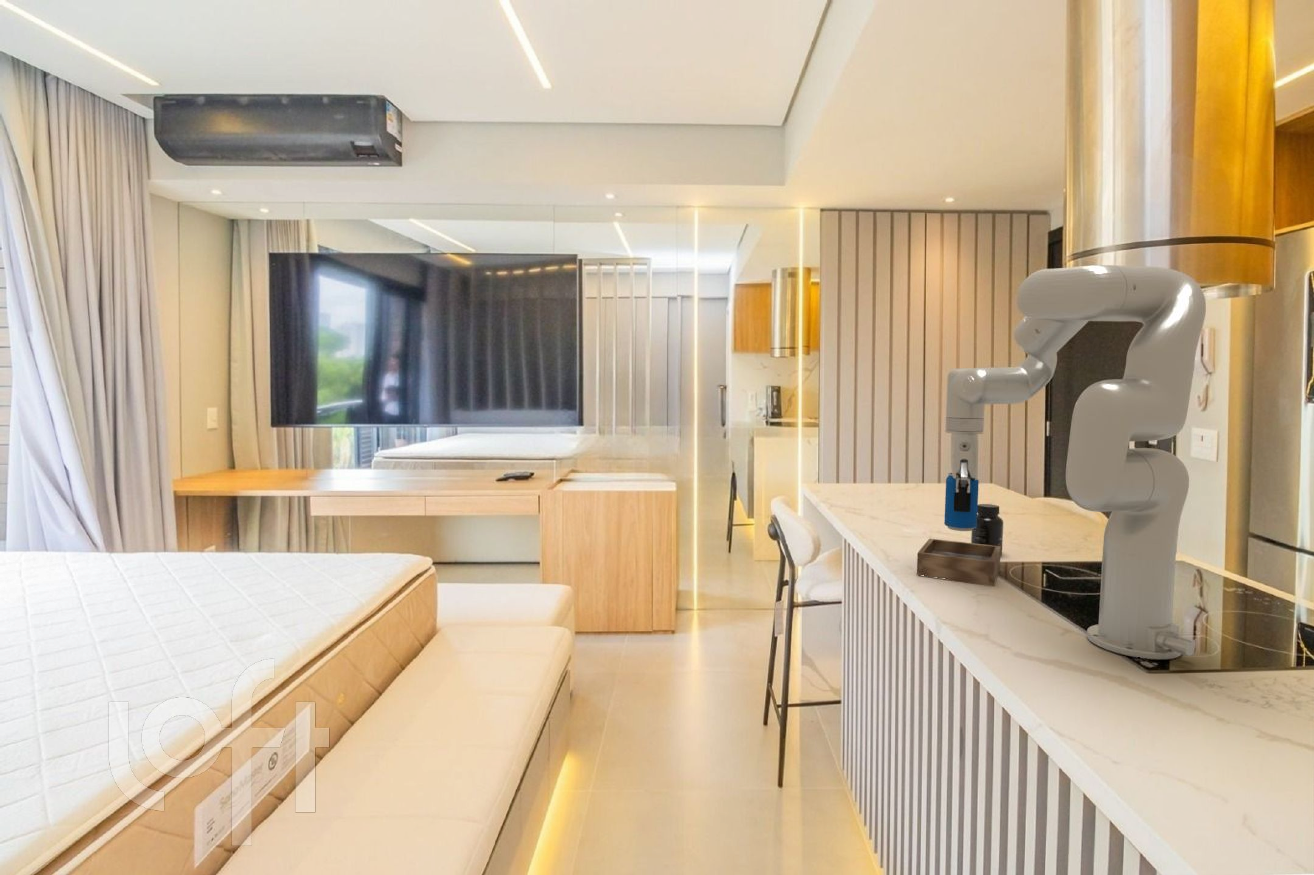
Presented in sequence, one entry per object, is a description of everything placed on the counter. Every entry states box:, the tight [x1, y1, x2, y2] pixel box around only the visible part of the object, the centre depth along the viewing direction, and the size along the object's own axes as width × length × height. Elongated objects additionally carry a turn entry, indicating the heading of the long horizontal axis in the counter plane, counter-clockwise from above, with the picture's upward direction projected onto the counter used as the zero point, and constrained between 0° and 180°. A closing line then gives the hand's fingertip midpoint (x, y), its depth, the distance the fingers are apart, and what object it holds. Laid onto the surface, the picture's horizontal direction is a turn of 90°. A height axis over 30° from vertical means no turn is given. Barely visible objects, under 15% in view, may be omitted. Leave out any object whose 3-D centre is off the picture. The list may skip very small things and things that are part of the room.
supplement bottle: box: [970, 503, 1004, 557], centre depth 166 cm, size 7×7×12 cm
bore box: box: [916, 538, 1001, 587], centre depth 152 cm, size 15×15×5 cm
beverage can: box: [944, 472, 980, 532], centre depth 151 cm, size 6×6×12 cm
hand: (961, 507), depth 151 cm, fingers closed on beverage can, 6 cm apart
